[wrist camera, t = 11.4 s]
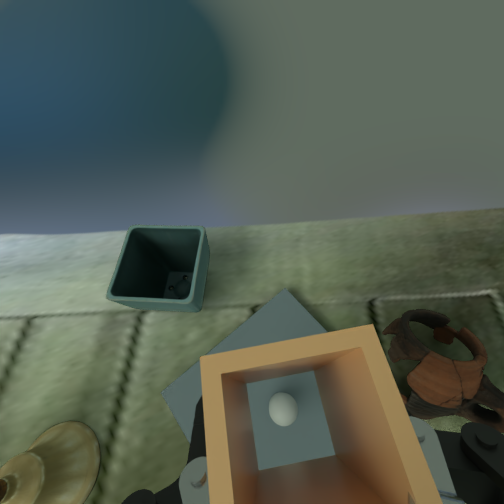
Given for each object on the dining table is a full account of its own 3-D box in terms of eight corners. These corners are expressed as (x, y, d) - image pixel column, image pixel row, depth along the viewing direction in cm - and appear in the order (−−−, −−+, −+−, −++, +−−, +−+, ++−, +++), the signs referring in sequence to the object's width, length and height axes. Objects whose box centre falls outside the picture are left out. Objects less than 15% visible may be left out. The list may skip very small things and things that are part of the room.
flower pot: (142, 321, 33) (102, 299, 25) (158, 259, 37) (129, 223, 29) (210, 325, 32) (191, 303, 24) (219, 261, 37) (205, 225, 29)
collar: (349, 466, 14) (472, 579, 6) (249, 486, 14) (219, 634, 6) (320, 359, 17) (372, 324, 8) (235, 375, 17) (199, 356, 8)
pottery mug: (352, 382, 29) (377, 331, 25) (385, 337, 35) (411, 290, 31) (482, 483, 22) (549, 438, 18) (496, 406, 28) (549, 358, 24)
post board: (273, 579, 22) (275, 671, 15) (165, 392, 29) (131, 392, 22) (405, 419, 27) (455, 429, 19) (284, 291, 34) (288, 264, 27)
